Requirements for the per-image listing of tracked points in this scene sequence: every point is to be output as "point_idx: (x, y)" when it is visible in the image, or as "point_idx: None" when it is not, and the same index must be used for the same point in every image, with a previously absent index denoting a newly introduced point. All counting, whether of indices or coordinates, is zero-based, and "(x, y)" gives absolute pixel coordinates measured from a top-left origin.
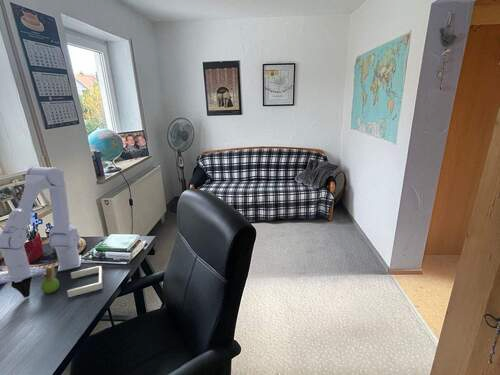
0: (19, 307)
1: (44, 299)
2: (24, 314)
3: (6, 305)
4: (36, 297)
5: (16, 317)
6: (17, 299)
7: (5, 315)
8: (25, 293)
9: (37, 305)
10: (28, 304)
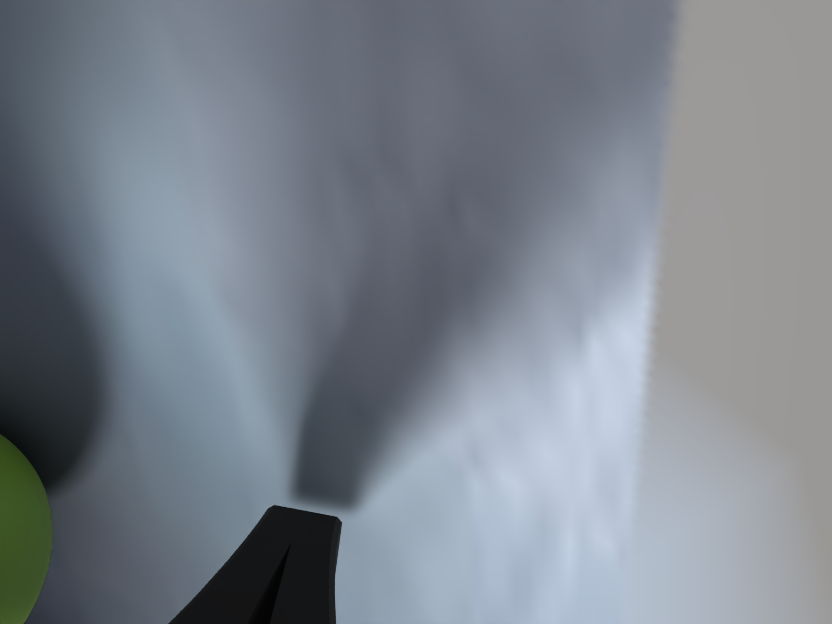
0: (418, 331)
1: (39, 306)
2: (310, 16)
3: (605, 510)
4: (187, 441)
5: (455, 6)
6: (456, 557)
7: (641, 233)
8: (266, 575)
9: (117, 190)
10: (281, 326)
